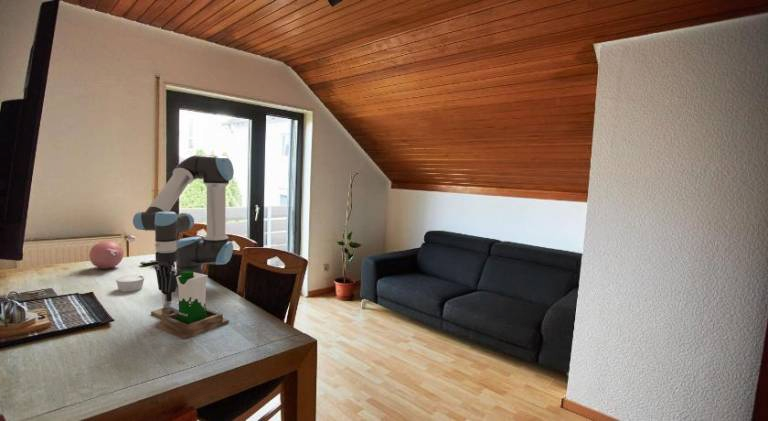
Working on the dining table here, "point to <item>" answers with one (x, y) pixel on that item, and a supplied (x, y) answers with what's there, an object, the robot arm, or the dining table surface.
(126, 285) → the ramekin
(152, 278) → the dining table surface
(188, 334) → the brown wooden tray
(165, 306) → the lock bar
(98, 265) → the pink ovoid shape
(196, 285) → the soya milk
